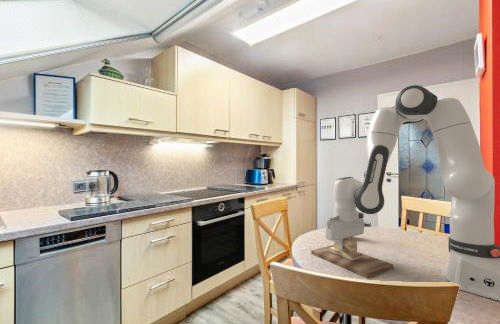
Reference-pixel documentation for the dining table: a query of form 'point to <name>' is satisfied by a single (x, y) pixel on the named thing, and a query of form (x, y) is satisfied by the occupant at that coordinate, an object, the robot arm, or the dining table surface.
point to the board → (355, 263)
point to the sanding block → (347, 250)
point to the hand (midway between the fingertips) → (345, 247)
